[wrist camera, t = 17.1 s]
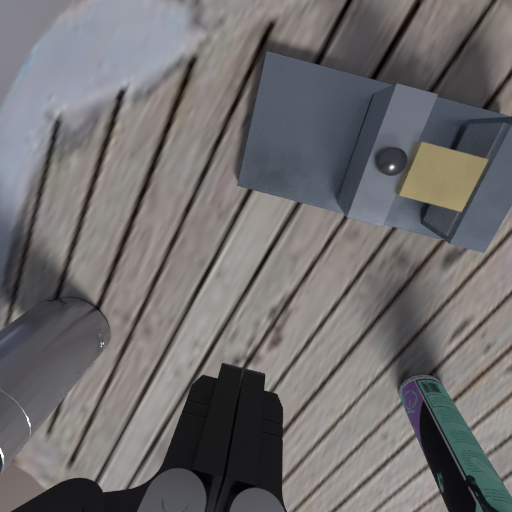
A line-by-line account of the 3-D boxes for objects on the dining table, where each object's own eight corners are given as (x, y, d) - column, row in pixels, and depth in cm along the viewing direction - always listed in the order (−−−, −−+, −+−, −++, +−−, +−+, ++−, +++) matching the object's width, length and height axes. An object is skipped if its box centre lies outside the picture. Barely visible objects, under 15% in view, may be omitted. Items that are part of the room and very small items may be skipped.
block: (375, 181, 30) (399, 195, 24) (391, 139, 29) (422, 141, 22) (424, 194, 31) (461, 211, 24) (443, 153, 29) (488, 159, 23)
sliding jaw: (336, 202, 31) (349, 220, 25) (374, 92, 27) (401, 81, 21) (365, 209, 31) (385, 230, 25) (407, 101, 27) (444, 92, 21)
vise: (238, 183, 33) (226, 197, 26) (267, 54, 28) (261, 30, 22) (439, 236, 33) (478, 263, 26) (500, 116, 29) (565, 111, 22)
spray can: (391, 385, 41) (477, 595, 22) (431, 367, 39) (560, 578, 21) (410, 412, 42) (506, 630, 24) (450, 396, 41) (586, 617, 22)
